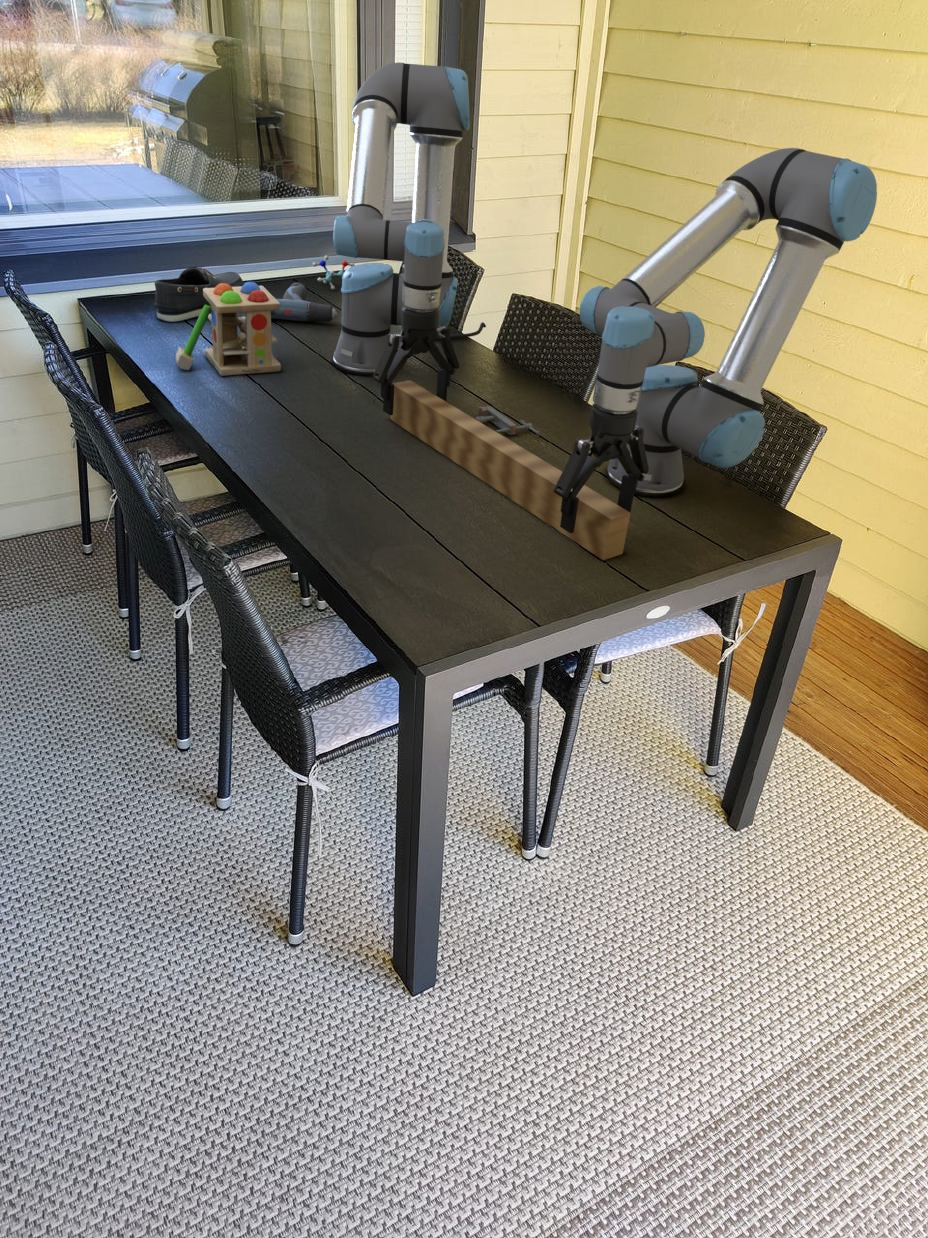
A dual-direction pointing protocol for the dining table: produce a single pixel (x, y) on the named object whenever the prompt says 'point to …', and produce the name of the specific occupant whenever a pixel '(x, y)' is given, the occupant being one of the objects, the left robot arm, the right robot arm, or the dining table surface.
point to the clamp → (496, 418)
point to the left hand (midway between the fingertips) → (415, 407)
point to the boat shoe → (188, 292)
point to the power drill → (301, 307)
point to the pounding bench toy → (229, 347)
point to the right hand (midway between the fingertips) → (595, 520)
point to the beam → (508, 468)
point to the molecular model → (330, 274)
